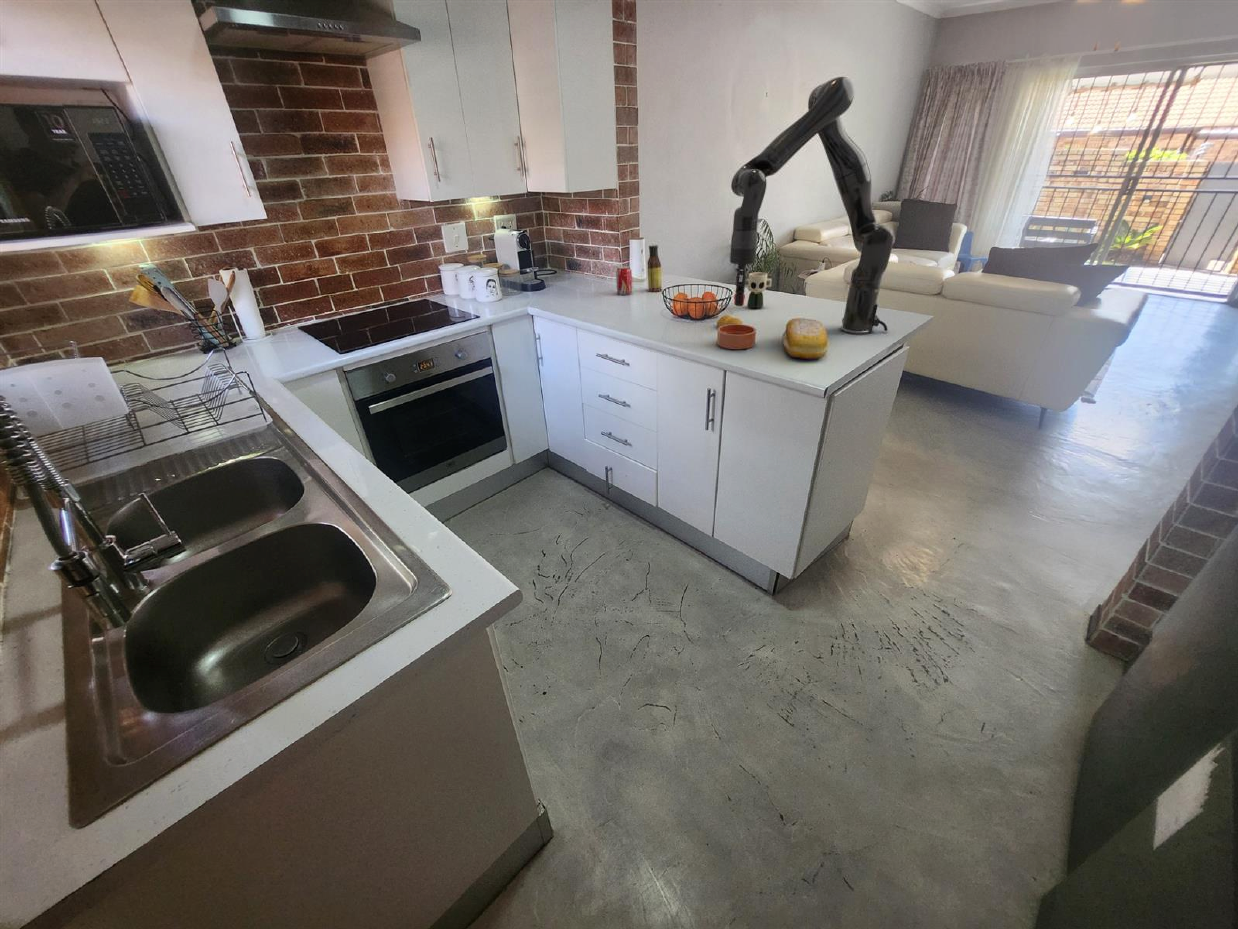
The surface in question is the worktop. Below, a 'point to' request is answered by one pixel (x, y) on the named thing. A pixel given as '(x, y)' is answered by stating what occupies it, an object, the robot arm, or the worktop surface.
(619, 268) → the soda can
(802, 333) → the bread
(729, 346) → the bowl
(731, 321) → the bread roll
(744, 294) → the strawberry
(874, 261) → the robot arm
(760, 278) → the character mug
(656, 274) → the sauce bottle
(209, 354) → the worktop surface
